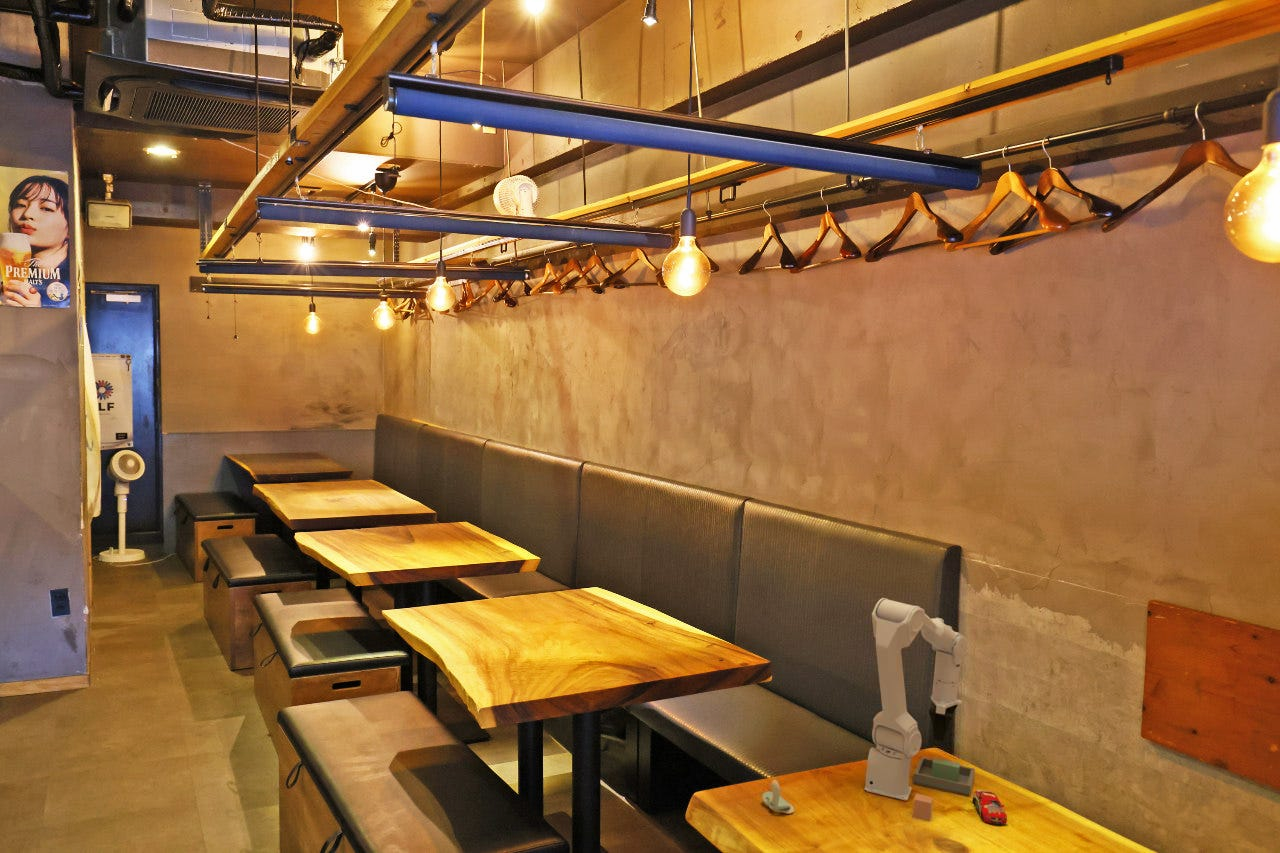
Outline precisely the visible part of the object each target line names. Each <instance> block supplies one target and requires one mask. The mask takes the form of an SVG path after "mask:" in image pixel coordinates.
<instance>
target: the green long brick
mask: <svg viewBox="0 0 1280 853" xmlns="http://www.w3.org/2000/svg"><path fill="white" fill-rule="evenodd" d="M960 766H961V763H960V762H956V761H952V760H948V759H944V758H938V757H933V762H932V772H931V776H933V777H937V778H941V779H946V780H950V781H955V782H958V780H959V771H960Z"/></svg>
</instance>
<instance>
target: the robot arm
mask: <svg viewBox="0 0 1280 853" xmlns="http://www.w3.org/2000/svg"><path fill="white" fill-rule="evenodd" d="M925 611H926V610H925V609H924V608H921V606H918V605H913V604H908V603H904V602H900V601H897V600H896V601H895V600H892V599H888V598H886V597H882V598H880V599H879V600H878V601H877V602H876V603H875V606H874V608H873V610H872V613H871V621H872V629H873V630H872V631H873V632H872V633H873V637H874V638H875V651H876V652H875V653H876V660H877V669H878V679H879V690H880V699H881V707H882V710H881V711H879V712H878V713H877V714H876V715H875V716H874V718H873V719H872V720H873V723H872V724H873V727H872V731H871V733H872V734H871V736H872V737H871V738H872V741H873V743H874V745H876V746H875V747H871V748H870V749H869V751H868V752H869V753H868V757H867V764H866V773H865V785H864V791H865V790H866V791H865V792H869V793H871V794H877V795H882V796H885V797H888V798H894V799H897V800H901V801H908V799H909V797H910V795H911V793H912V790H913V788H912V786H909V785H910V776H911V763H912V758H914V757H915V756H916V755H917V754H918V753H919V751H920V749H921V747H922V734H921V732H920V730H919V727H918V722H917V721H916V720H915V718H914V717H912V715H910V713H909V712H908V707H907V699H906V688H905V676H904V668H903V667H904V666H903V659H902V658H903V657H902V649H904V648H908V647H910V646H911V645H912V642H914V640H915V638H916V636H918V634H919V632H921V636H922V638H923V640H925V641H926V642H928V643H929V644H931V648H932V650H933V652H934V651H935V658H934V659H935V661H934V669H933V670H934V672H933V682H932V692H931V695H930V700H931V702H932V703H933V705H934V708H932V707H931V708H929V709H928V714H929V717H930V719H931V724H932V734H933V739H934V741H939V742H944V740H945V738H946V736H947V735H946V734H947V733H948V731H949V727H950V724H951V721H952V719H953V718H954V716H955V714H954V712H955V710H956V709H957V707H958V706H959V705H960V706H961V705H962V703H963V702H962V701H963V700H961V699H958V692H959V690H958V689H959V681H960V680H959V679H960V670H961V668H960V667H961V664H962V663H963V661H964V655H965V653H966V651H967V646H968V643H967V638H966V637H965V636H964V635H963V633H961V632H957V631H955V630H953V627H952V626H951V625H947V624H945V623H944V622H945V621H944V619H943V618H939V617H935V618H930V617H929V616H928V615H927V614H926V613H925Z"/></svg>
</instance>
